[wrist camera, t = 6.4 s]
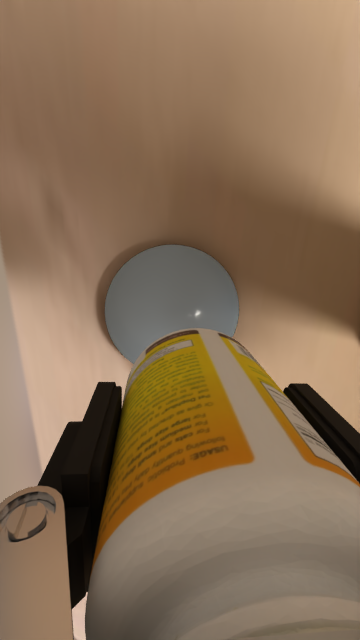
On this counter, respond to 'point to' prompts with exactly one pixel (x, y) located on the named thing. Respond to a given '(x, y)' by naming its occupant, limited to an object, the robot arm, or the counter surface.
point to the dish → (168, 297)
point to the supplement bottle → (220, 506)
